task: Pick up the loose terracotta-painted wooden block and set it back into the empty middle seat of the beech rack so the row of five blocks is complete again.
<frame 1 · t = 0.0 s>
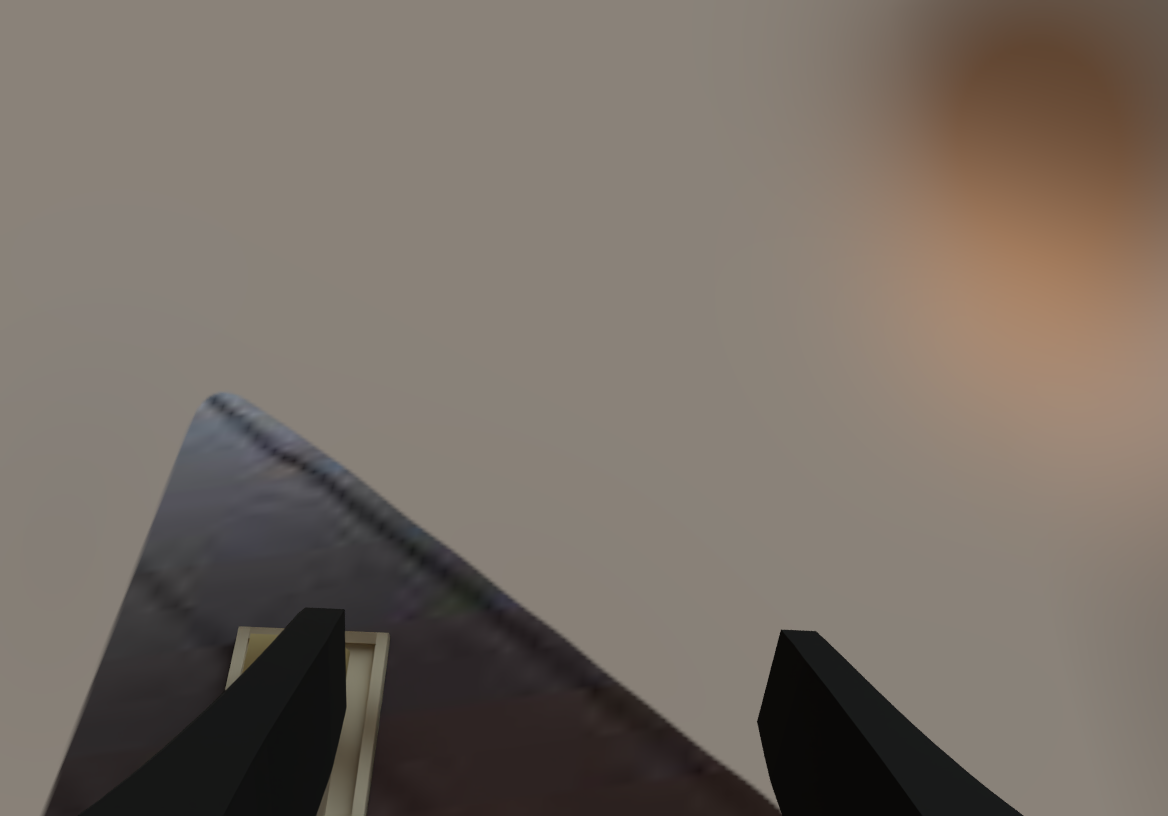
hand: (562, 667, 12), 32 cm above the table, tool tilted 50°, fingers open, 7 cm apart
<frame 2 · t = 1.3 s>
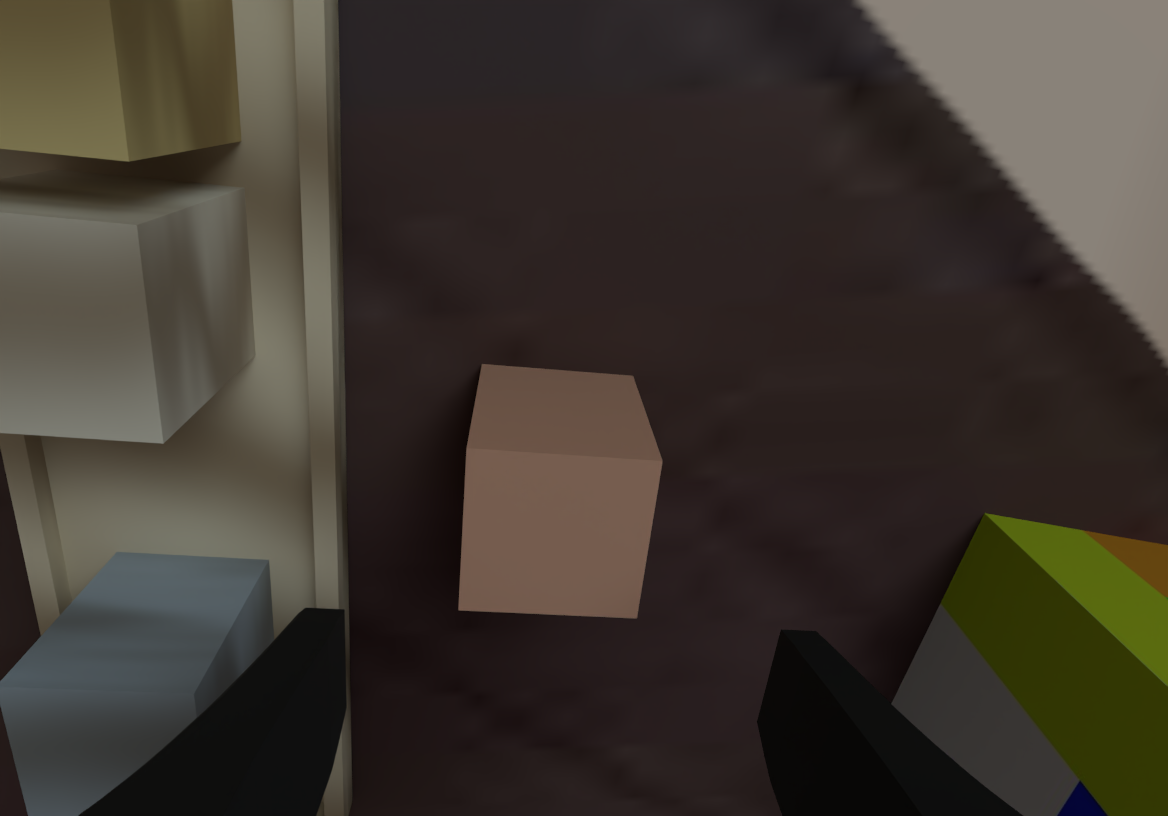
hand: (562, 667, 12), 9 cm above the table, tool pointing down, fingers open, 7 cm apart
terracotta block: (551, 437, 21), on the table
puzzle toy: (1052, 659, 25), on the table
rack: (192, 448, 20), on the table
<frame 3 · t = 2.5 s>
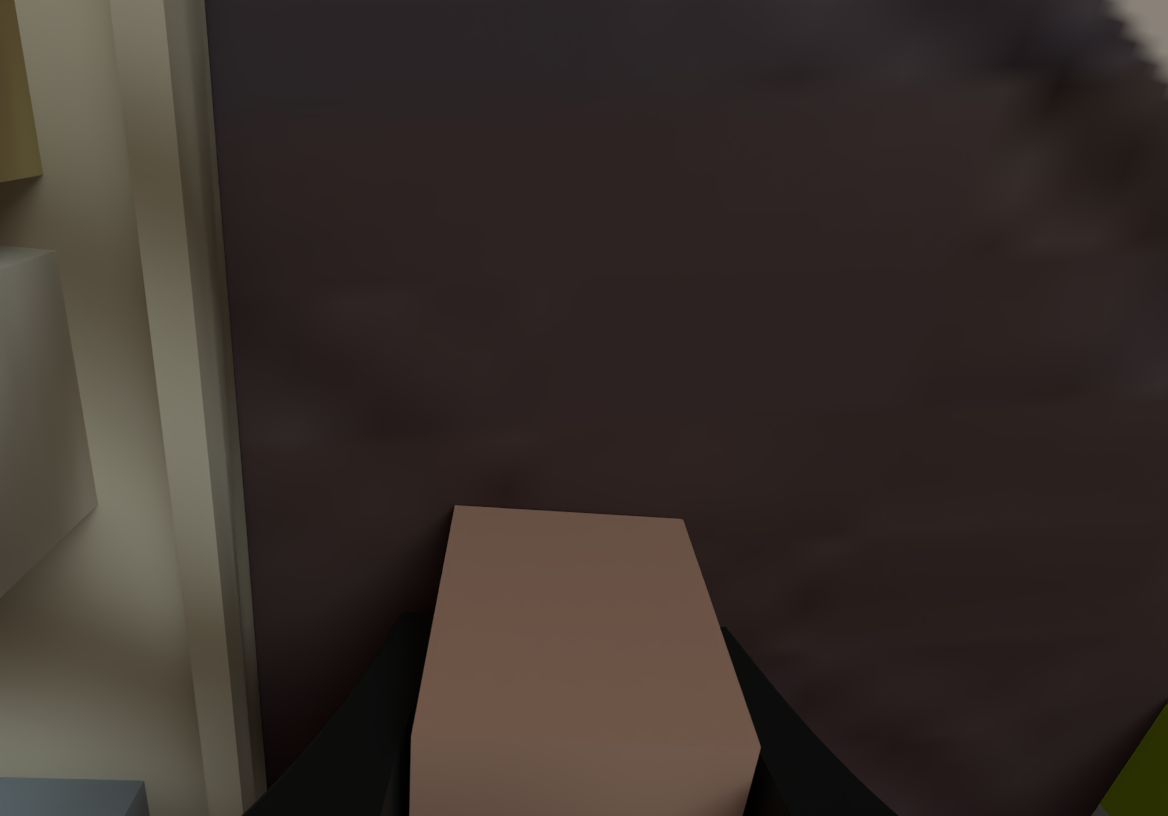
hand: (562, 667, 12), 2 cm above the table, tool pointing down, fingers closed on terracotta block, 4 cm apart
terracotta block: (559, 605, 14), on the table, touching gripper
rack: (21, 626, 13), on the table
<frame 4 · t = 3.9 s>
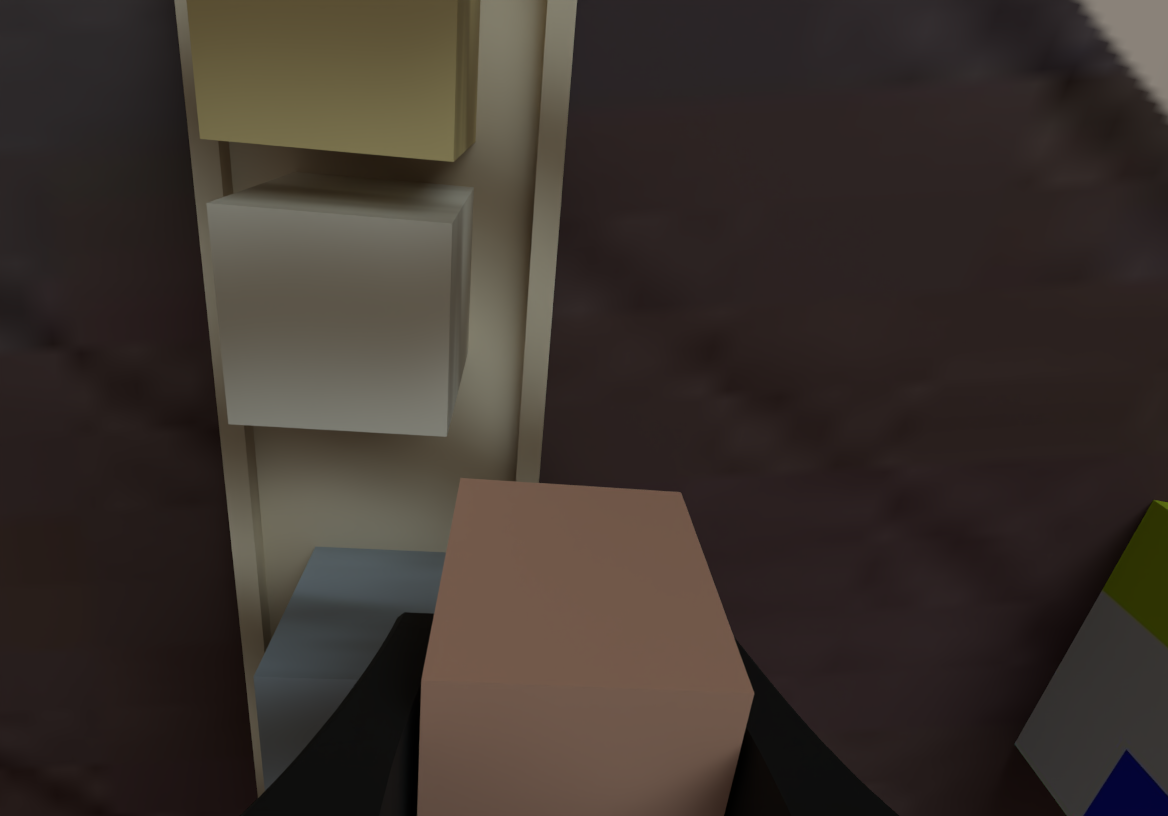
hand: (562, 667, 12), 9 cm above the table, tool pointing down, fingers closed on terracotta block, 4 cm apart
terracotta block: (561, 577, 14), point 7 cm above the table, touching gripper
rack: (392, 444, 20), on the table
when the fingers open (3 cm above the table, at t = 5.6 s): terracotta block stays where it is, resting on rack.
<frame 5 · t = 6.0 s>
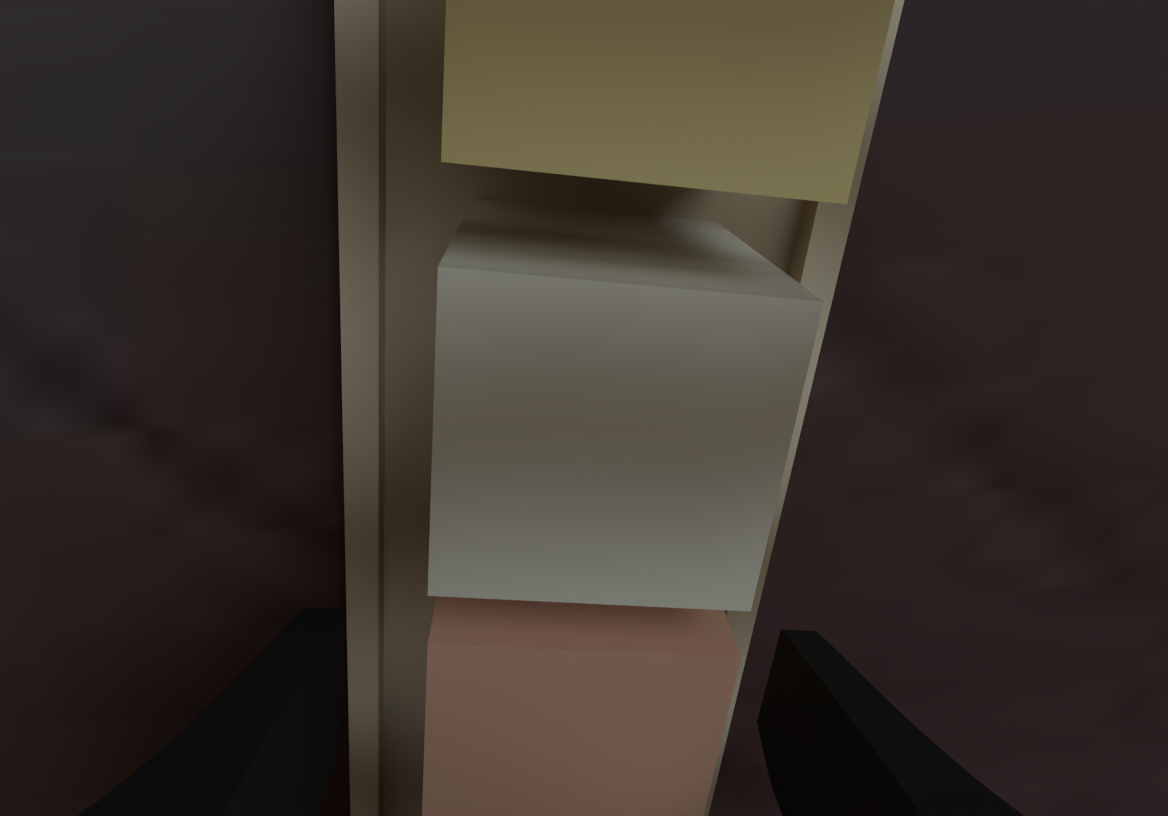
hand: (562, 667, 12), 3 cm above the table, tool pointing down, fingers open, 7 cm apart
terracotta block: (560, 556, 15), point 1 cm above the table, touching rack
rack: (557, 550, 16), on the table
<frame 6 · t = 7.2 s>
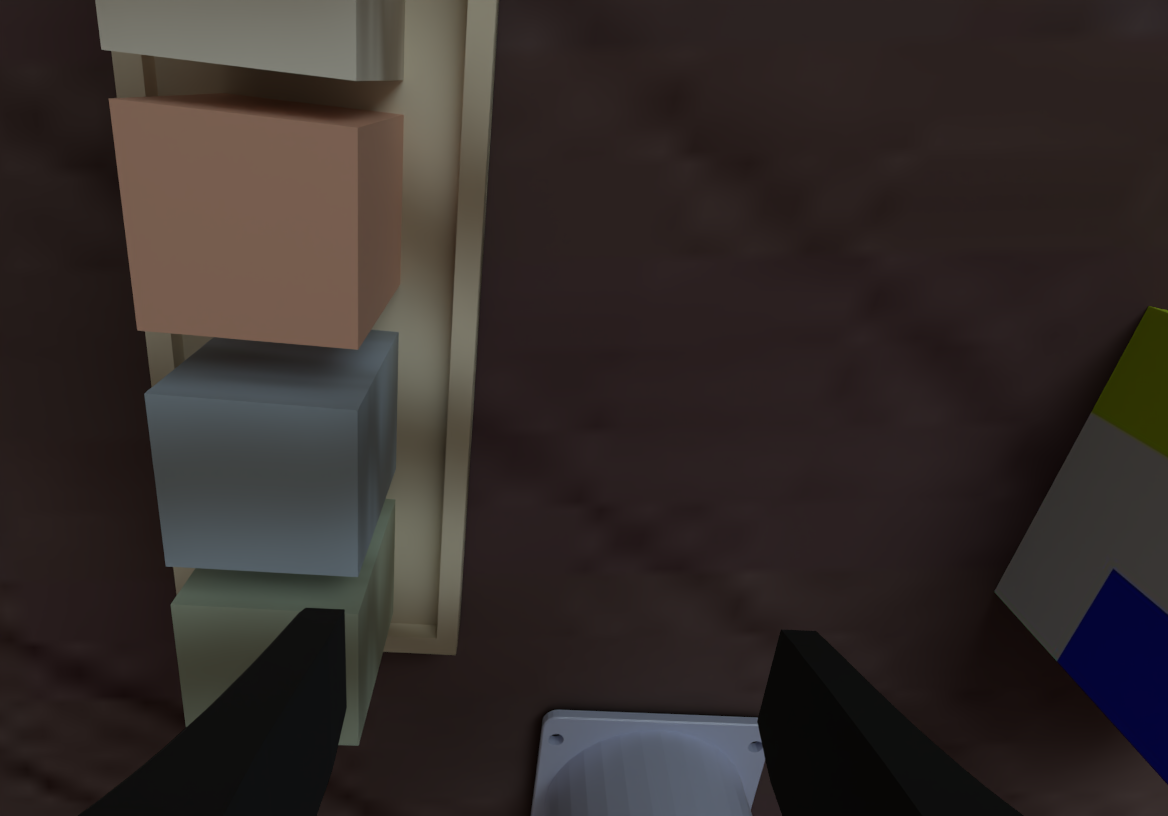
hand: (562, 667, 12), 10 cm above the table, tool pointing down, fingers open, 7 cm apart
terracotta block: (316, 193, 18), point 1 cm above the table, touching rack
rack: (322, 201, 19), on the table
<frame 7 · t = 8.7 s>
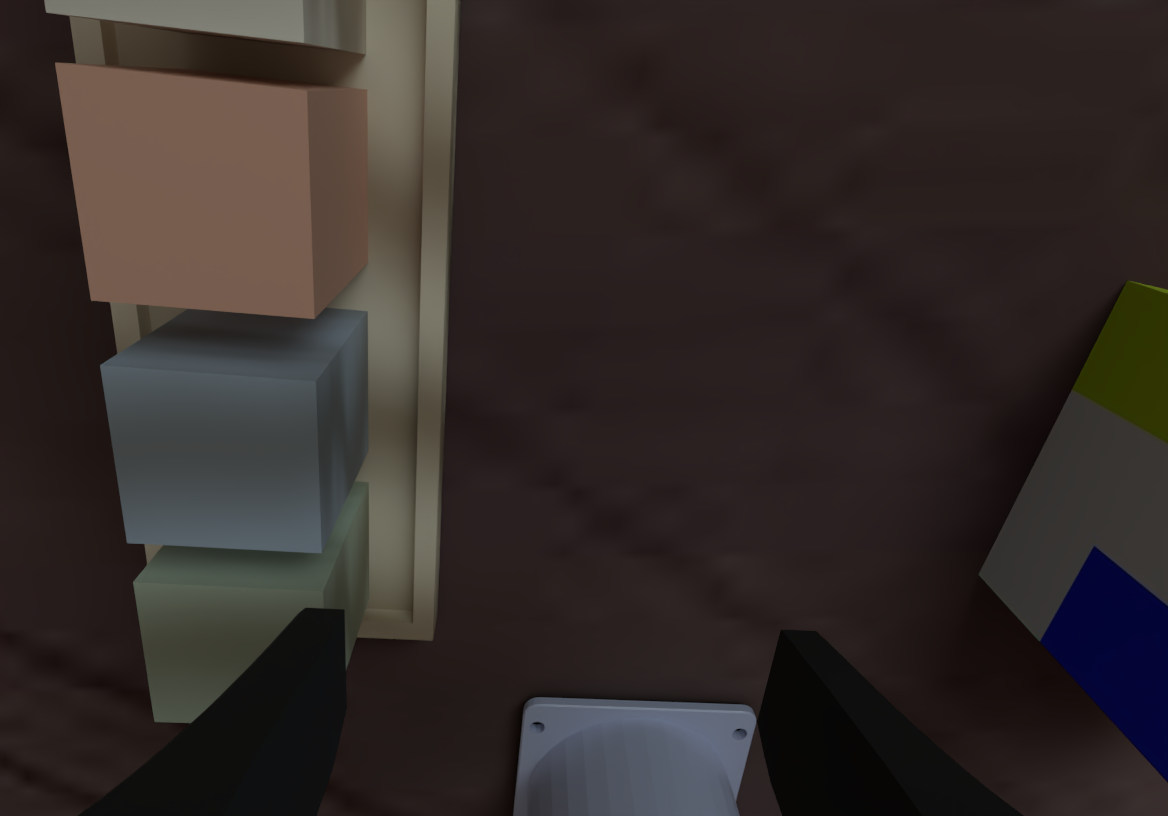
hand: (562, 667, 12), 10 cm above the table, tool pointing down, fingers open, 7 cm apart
terracotta block: (281, 170, 18), point 1 cm above the table, touching rack
rack: (289, 179, 18), on the table
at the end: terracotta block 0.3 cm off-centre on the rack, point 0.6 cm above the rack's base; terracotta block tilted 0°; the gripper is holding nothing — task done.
